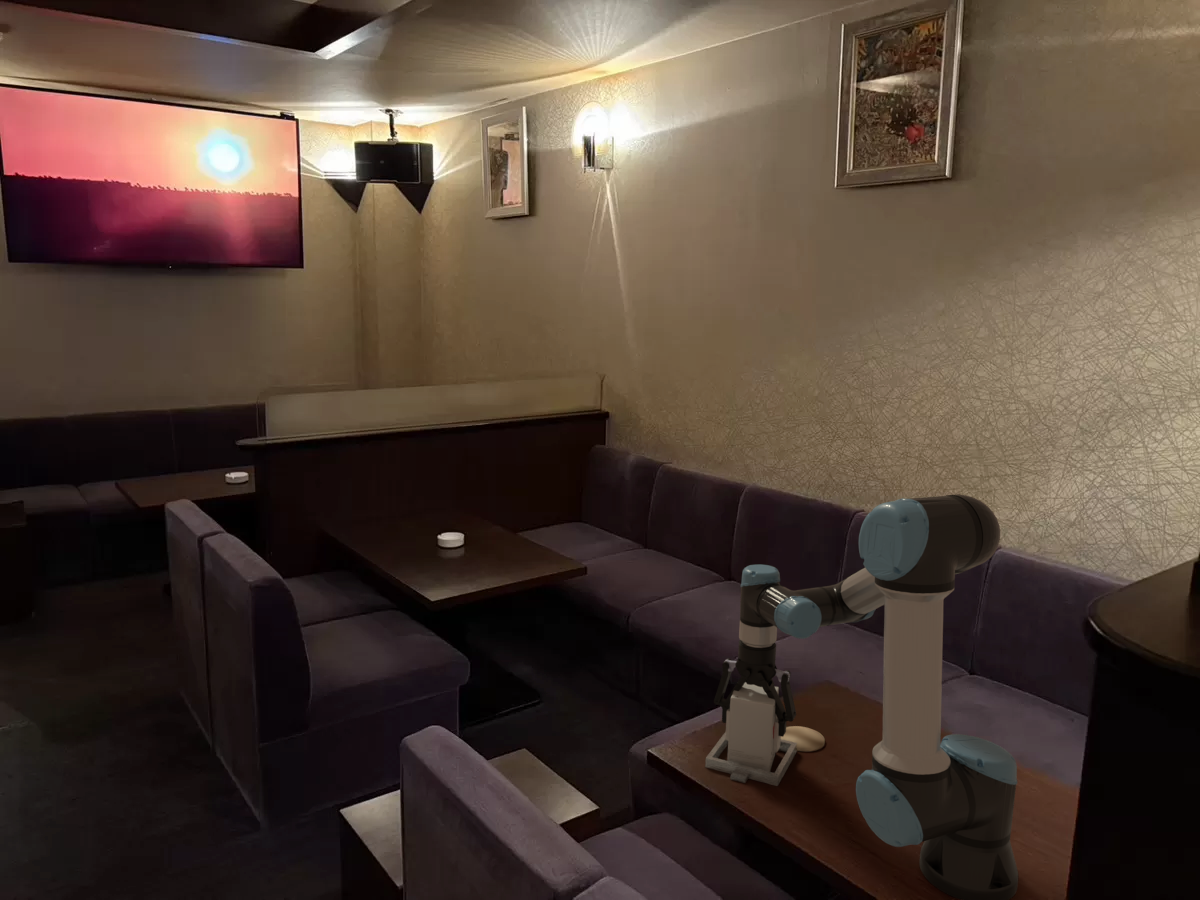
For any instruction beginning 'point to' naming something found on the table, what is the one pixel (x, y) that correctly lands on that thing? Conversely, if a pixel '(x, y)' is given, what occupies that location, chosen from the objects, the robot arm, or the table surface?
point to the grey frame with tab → (746, 772)
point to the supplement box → (752, 728)
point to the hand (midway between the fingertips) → (752, 743)
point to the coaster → (804, 738)
